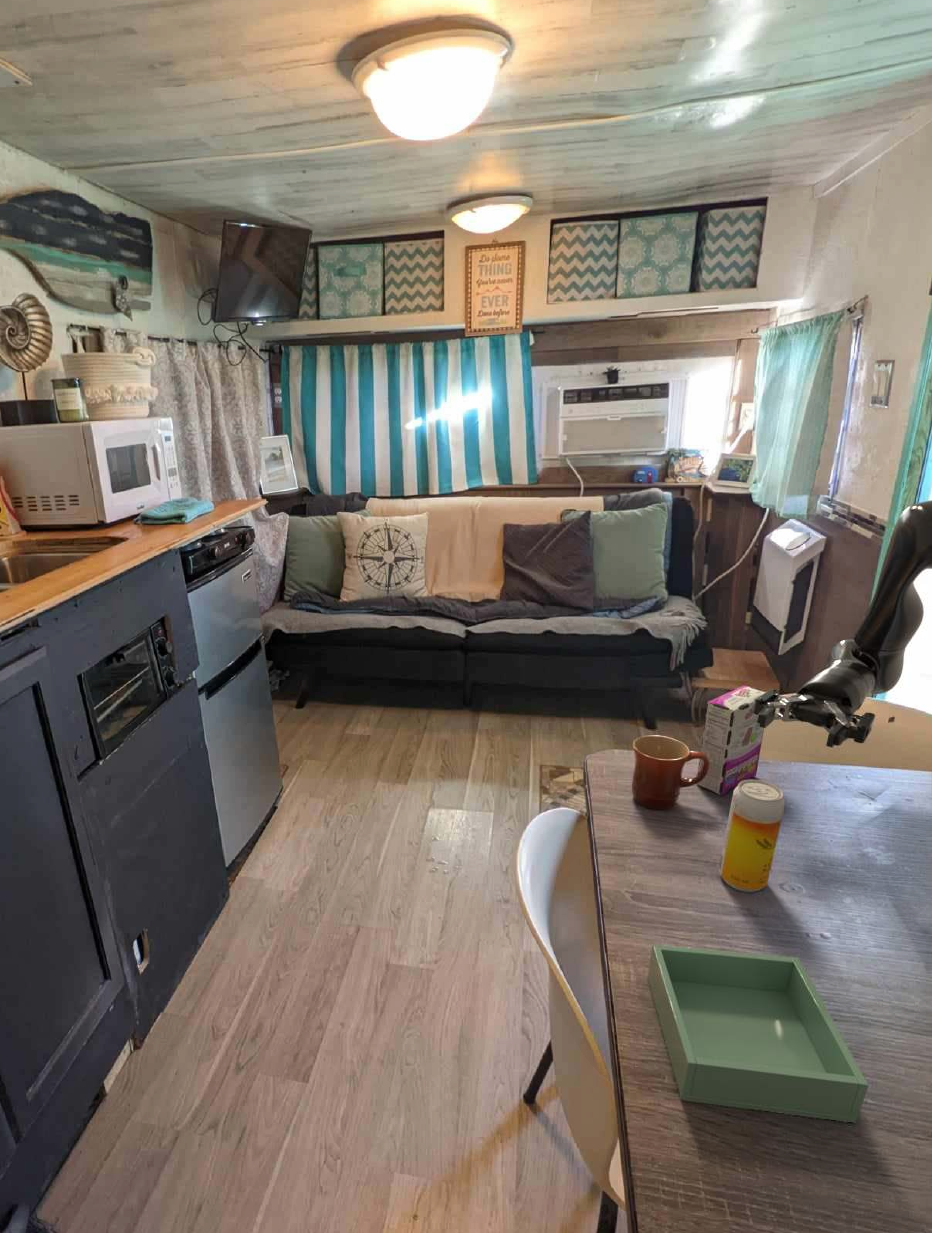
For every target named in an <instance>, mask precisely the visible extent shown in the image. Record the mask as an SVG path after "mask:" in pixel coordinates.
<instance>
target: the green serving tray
mask: <svg viewBox="0 0 932 1233" xmlns="http://www.w3.org/2000/svg"><path fill="white" fill-rule="evenodd" d="M650 952H651V953H650V958H649V967H648V973H647V982H648V985H649V989H650V993H651V996H652V999H653V1003H654V1008H655V1011H656V1014H657V1017H658V1022H659V1025H660V1028H661V1032H662V1036H663V1039H664V1043H665V1047H666V1051H667V1054H668V1059H669V1061H670V1065H671V1069H672V1072H673V1076H674V1080H675V1084H676V1088H677V1091H678V1094H679V1099H680V1101H683V1102H691V1103H698V1104H707V1105H712V1104H713V1105H714V1106H720V1105H721V1106H722V1107H727V1106H728V1108H734V1107H735V1108H736V1109H741V1110H749V1109H750V1110H751V1109H754V1110H753V1111H757V1110H762V1111H761V1112H764V1111H770V1112H769V1113H772V1112H778V1113H777V1114H779V1112H781V1113H784V1114H783V1115H786V1114H785V1113H788V1114H790V1115H789V1116H792V1115H791V1114H794V1115H800V1116H799V1117H802V1116H803V1115H804V1116H808V1117H807V1118H809V1117H813V1118H812V1119H816V1118H819V1119H818V1120H824V1119H830V1120H829V1121H831V1120H837V1121H836V1122H839V1121H840V1122H839V1123H846V1122H853V1123H852V1124H854V1123H856V1124H857V1121H858V1118H859V1116H860V1113H861V1110H862V1106H863V1104H864V1100H865V1097H866V1094H867V1091H868V1088H869V1083H868V1082H867V1080H866V1077H865V1076H864V1074H863V1073H862V1070H861V1069H860V1066H859V1065H858V1063H857V1061H856V1060H855V1058H854V1056H853V1054H852V1052H851V1051H850V1048H849V1047H848V1045H847V1043H846V1042H845V1040H844V1038H843V1036H842V1034H841V1033H840V1032H841V1031H839V1029H838V1027H837V1025H836V1023H835V1021H834V1020H833V1018H832V1016H831V1014H830V1012H829V1010H828V1009H827V1006H826V1005H825V1003H824V1001H823V1000H822V998H821V995H820V994H819V993H818V990H817V989H816V987H815V984H814V983H813V981H812V979H811V978H810V976H809V974H808V972H807V971H806V969H805V967H804V965H803V962H802V961H801V959H800V958H799V957H794V956H793V957H790V956H780V955H779V956H778V955H769V954H759V953H749V952H748V953H747V952H739V951H727V950H718V949H706V948H697V947H687V946H686V947H685V946H674V945H667V944H666V945H665V944H652V945H651V951H650ZM713 1105H712V1106H713ZM750 1110H749V1111H750ZM751 1111H752V1110H751ZM794 1115H793V1116H794ZM814 1117H815V1118H814ZM820 1118H821V1119H820ZM841 1121H843V1122H841Z"/></svg>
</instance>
